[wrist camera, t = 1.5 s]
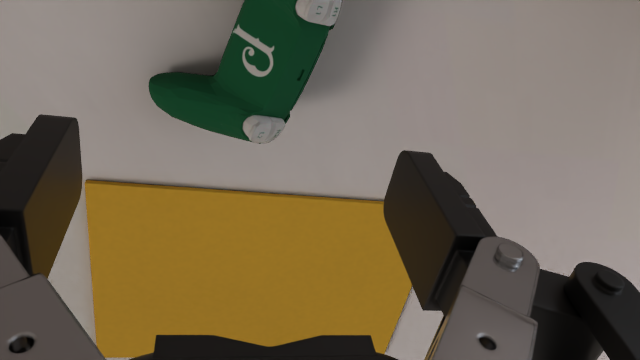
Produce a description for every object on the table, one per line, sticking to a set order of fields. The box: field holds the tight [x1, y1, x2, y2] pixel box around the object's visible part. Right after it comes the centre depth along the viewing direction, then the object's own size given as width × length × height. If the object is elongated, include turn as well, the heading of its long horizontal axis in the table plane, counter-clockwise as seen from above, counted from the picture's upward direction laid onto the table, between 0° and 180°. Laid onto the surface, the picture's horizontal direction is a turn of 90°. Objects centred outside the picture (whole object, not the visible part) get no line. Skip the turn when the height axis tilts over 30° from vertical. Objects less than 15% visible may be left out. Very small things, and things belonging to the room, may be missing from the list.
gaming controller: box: [149, 0, 342, 144], centre depth 21 cm, size 9×4×6 cm
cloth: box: [85, 180, 412, 358], centre depth 31 cm, size 20×14×1 cm
